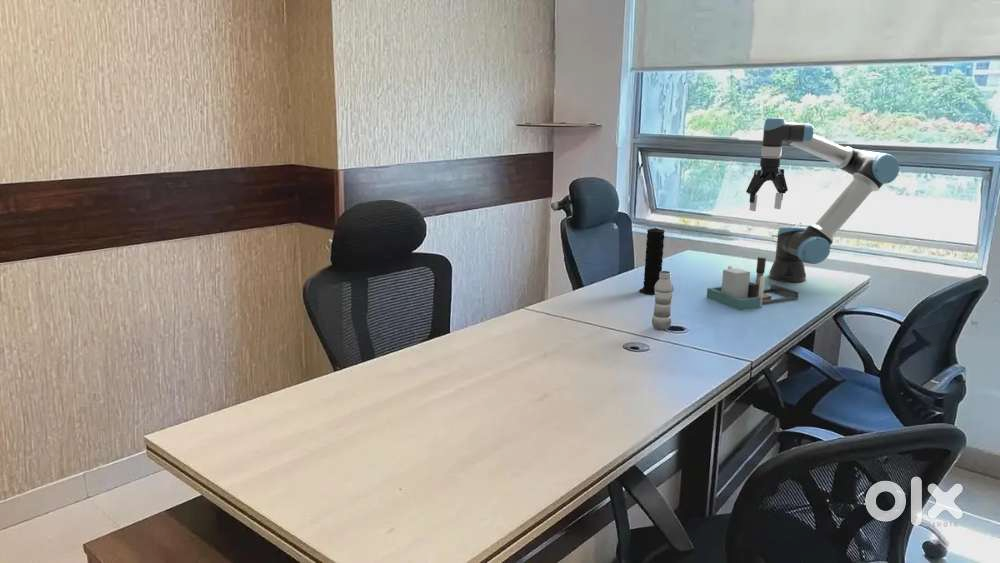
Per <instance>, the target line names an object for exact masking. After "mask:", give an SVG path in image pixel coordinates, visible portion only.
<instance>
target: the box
mask: <svg viewBox="0 0 1000 563" xmlns="http://www.w3.org/2000/svg"><path fill="white" fill-rule="evenodd" d="M727 269H733V266H731V265H728V266H727ZM765 280H766V276H764V275H763V276H761V277H760V286H759V295H758V297H753V298H746V299H739V298H737V297H734V296H731V295H728V294H725V293H723V292H721V290H722V285H721V286H714V287H707V289H706V299H709V300H711V301H714V302H716V303H718V304H722V305H724V306H726V305H727V307H729V308H733V309H734V308H735V309H734V310H738V311H741V312H742V311H746V310H754V309H760V308H762V307H763V305H762V300H763V294H764V293H763V291H764V289H765Z"/></svg>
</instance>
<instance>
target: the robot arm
mask: <svg viewBox="0 0 1000 563" xmlns="http://www.w3.org/2000/svg"><path fill="white" fill-rule="evenodd" d="M783 143H785V144H787V145H790V146H791V147H794V148H797V149H799V150H801V151H804V152H806V153H808V154H811V155H812V156H816V157H817V158H820V159H822V160H825V161H827V162H829V163H832V164H834V165H835V167H836V168H837V169H839V170H841V171H844V172H846V173H848V174H849V175H851V176H853V179H852V180H851V182H850V183H849V184H848V185H847V186H846V188H845V189H844V190H843V191H842V192H841V194H840V195H838V197H837V198H836V199H835V200H834V202H833V203H832V204H831V205H830V206H829V208H828V209H827V210H826V211H825V212H824V214H822V216H821V217H820V218H819V219H818V220H817V222H815V224H811V225H810V224H809V225H808V226H807V227H806V226H794V225H793V226H792V225H791V226H781V227H779V228H778V232H777V242H776V247H775V248H776V249H775V259H774V261H773V263H772V266H771V268H770V269H769V272H768V273H769V274H768V276H769V278H770V279H772V280H776V281H779V282H780V281H782V282H789V283H801V282H804V281H806V279H807V273H806V269H805V264H810V265H817V264H820V263H822V262H824V261H825V260H826V259H827V258H828V257H829V255H830V253H831V251H830V250H831V245H832V244H833V243H834V239H833V237H834V236H835V235H836V234H837V232H838V231H839V230H840V229H841V228H842V227H843V226H844V225H845V224H846V222H847V221H848V219H850V217H851V216H852V215H853V214H854V213H855V212H856V210H857V209H858V208H859V207H860V206H861V205H862V203H863V202H864V201H865V200H866V199H867V198H868V196H869V195H870V194H871V193H873V192H878V191H879V190H880V189H881V188H882V186H883V185H884V184H889V183H892V182H893V181H895V180H896V178H897V177H898V175H899V172H900V162H899V161H898V158H896V157H895V156H894V155H893V154H889V153H886V152H877V151H870V150H863V149H862V150H861V149H856V148H852V147H851V146H843V145H839V144H837V143H835V142H832V141H829V140H828V139H826V138H823V137H821V136H818V135H816V134H815V128H814V125H813V124H811V123H809V122H808V123H806V122H787V121H786V119H785V117H767V118H766V119H765V121H764V126H763V134H762V145H761V146H762V147H761V153H760V154H761V158H760V162H759V163H760V164H759V166H760V167H761V169H754V171H753V175H752V178H751V181H750V182H749V184H748V187H747V189H746V190H745V192H746V194H748V195H749V208H748V209H749V211H752V212H756V211H757V204H758V203H757V201H758V194H757V193H758V192H759V191H760V189H761V187H762V186H763V185H764V183H766V182H768V181H770V182H771V181H772V183H773V185H774V187H775V190H776V191H777V192H775V198H774V207H773V208H774V209H776V210H781V209H782V208H781V207H782V201H783V198H784V194H786V192H788V185H787V182H786V181H787V180H786V177H785V169H784V168H780V166H781V161H782V160H781V157H782V154H783V153H782V151H783ZM804 263H805V264H804Z"/></svg>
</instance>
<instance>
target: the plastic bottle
mask: <svg viewBox="0 0 1000 563" xmlns="http://www.w3.org/2000/svg"><path fill="white" fill-rule="evenodd" d="M671 273H672V272H670V271H667V270H662V271H660V275H659V278H660V279H659V280H658V281H657V283H656V284H655V289H654V290H655V295H654V309H653V315H652V318H651V324H652V327H653V329H657V330H664V331H665V330H668V329H670V328H671V324H672V317H671V305H672V304H671V303H672V298H673V293H674V285H673V282H672V281H671V280H670V279H671V277H672V276H671Z"/></svg>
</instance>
